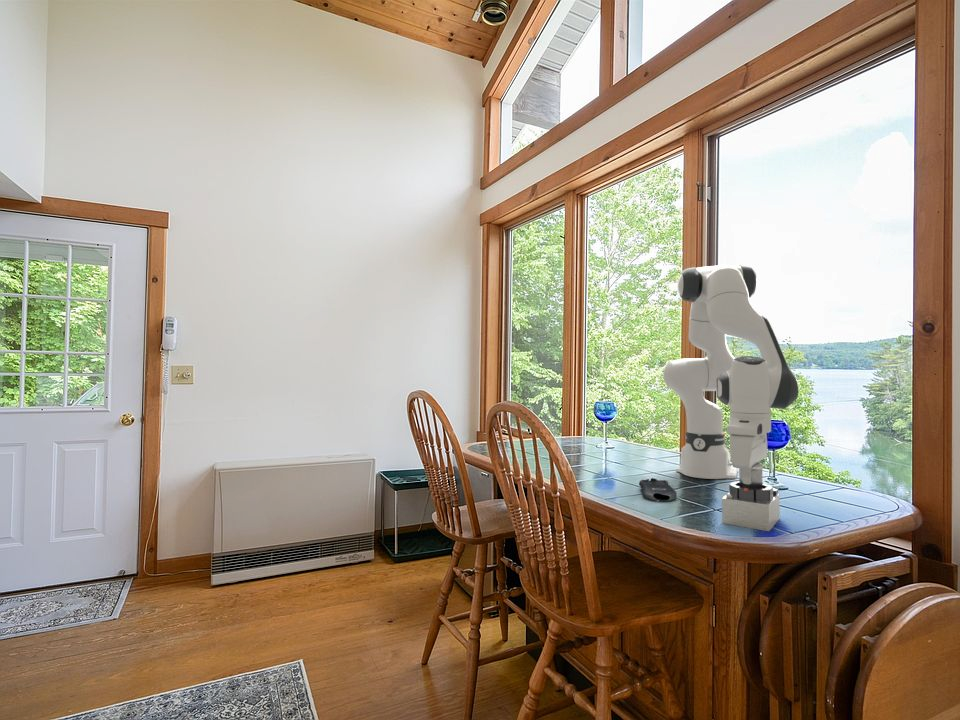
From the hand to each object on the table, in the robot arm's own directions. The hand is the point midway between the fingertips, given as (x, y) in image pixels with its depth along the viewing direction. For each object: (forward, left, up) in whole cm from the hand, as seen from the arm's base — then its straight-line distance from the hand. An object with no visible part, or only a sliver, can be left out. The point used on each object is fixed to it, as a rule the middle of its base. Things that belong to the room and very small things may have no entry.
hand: (750, 481), depth 129 cm
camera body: (0, 0, -10) cm, 10 cm away
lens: (0, 0, -3) cm, 3 cm away
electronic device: (-11, -27, -10) cm, 31 cm away
